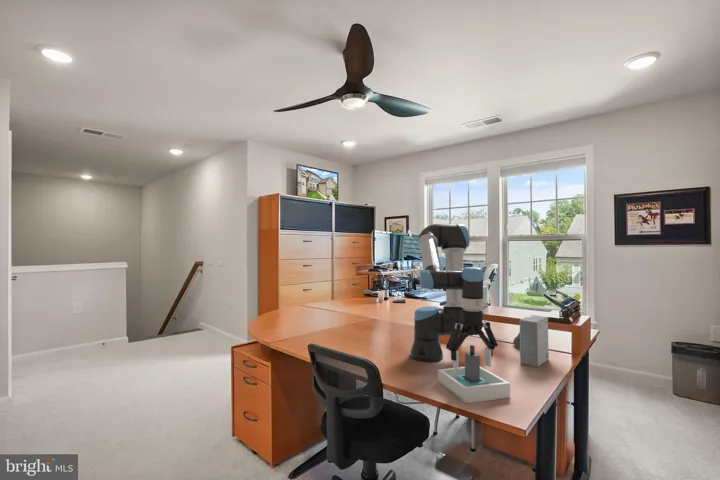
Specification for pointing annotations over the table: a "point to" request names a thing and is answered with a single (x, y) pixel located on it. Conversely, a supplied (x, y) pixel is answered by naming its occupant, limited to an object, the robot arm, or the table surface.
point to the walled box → (473, 385)
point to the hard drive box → (534, 340)
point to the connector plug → (472, 365)
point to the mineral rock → (517, 341)
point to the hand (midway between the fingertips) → (472, 367)
